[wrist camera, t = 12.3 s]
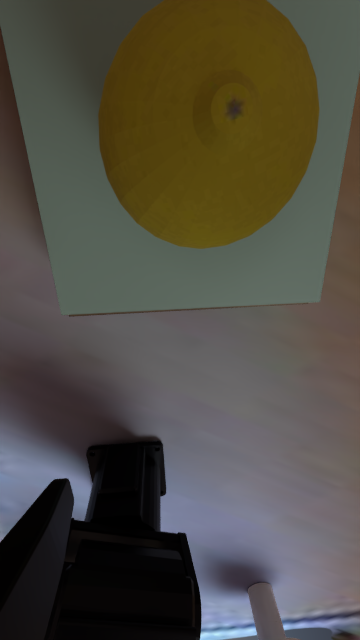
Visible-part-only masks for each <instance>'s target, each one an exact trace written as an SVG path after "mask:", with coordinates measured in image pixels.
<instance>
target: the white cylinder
mask: <svg viewBox="0 0 360 640" xmlns="http://www.w3.org/2000/svg"><path fill="white" fill-rule="evenodd" d="M248 595H249V599H250V604H251V608H252V613H253V617H254V622H255V627H256V631H257V635H258V639H259V640H299V639H296V638H286V636H285V632H284V629H283V625H282V621H281V618H280V615H279V611H278V608H277V604H276V601H275V597H274V594H273V590H272V587H271V585H270V584H268V583H257V584H254V585H252V586H250V587H249V588H248Z"/></svg>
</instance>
